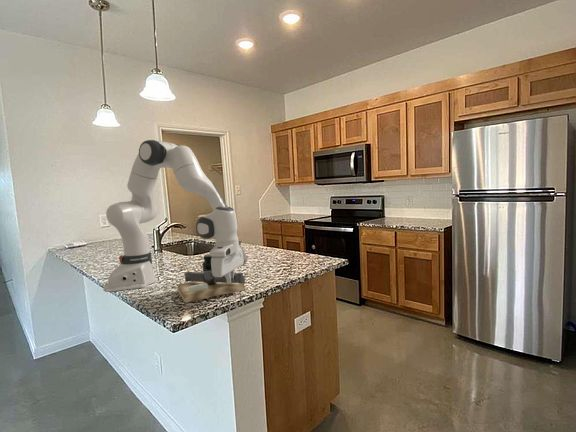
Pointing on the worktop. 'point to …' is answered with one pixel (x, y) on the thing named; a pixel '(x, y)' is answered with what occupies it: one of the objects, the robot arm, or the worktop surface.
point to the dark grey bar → (212, 277)
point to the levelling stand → (206, 290)
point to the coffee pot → (243, 253)
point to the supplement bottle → (206, 263)
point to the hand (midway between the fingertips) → (230, 281)
